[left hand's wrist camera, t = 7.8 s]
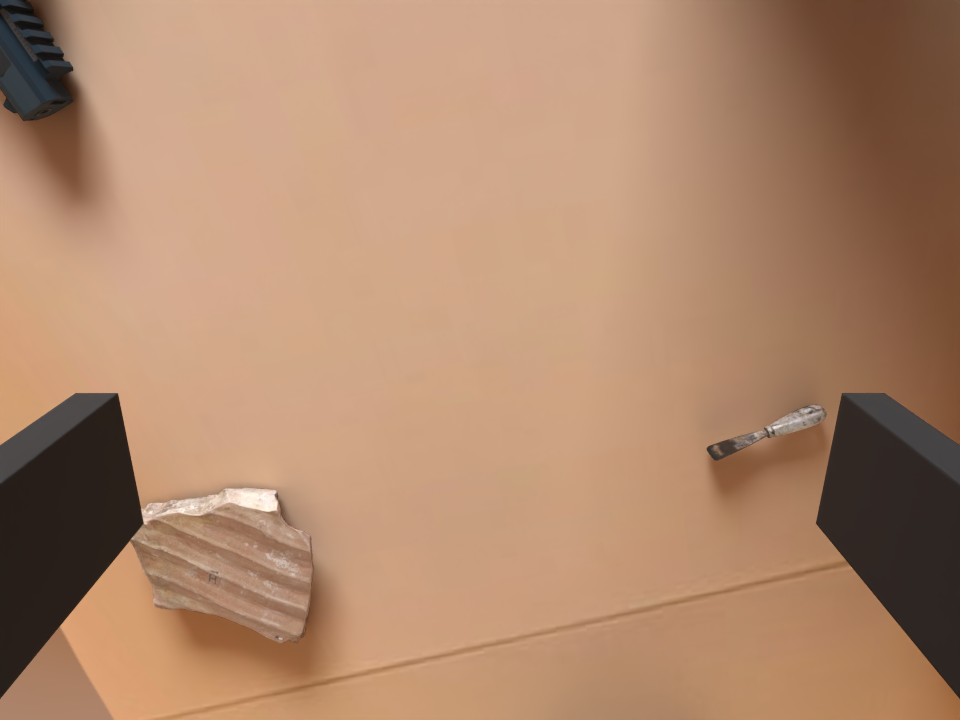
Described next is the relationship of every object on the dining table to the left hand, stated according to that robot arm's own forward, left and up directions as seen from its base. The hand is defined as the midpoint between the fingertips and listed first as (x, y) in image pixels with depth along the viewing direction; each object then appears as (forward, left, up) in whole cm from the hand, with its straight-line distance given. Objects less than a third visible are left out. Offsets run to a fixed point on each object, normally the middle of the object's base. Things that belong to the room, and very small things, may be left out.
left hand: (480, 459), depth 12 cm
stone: (-25, +18, -31) cm, 44 cm away
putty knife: (-14, -19, -31) cm, 39 cm away
